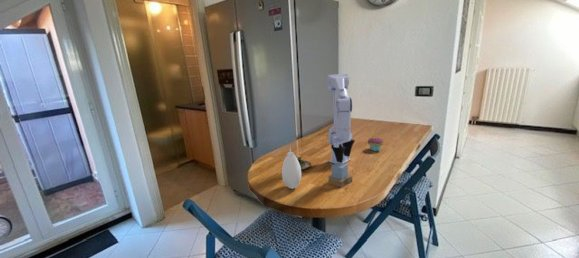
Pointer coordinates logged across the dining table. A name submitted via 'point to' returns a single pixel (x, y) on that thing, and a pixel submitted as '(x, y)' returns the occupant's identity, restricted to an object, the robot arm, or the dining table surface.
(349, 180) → the walnut block
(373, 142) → the cupcake
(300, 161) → the salad bowl
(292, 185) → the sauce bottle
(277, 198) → the dining table surface
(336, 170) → the blue cube
